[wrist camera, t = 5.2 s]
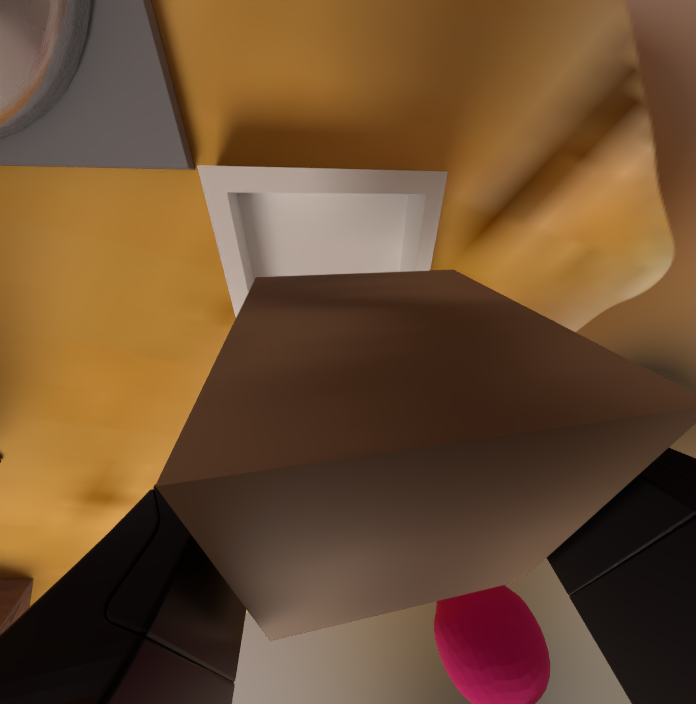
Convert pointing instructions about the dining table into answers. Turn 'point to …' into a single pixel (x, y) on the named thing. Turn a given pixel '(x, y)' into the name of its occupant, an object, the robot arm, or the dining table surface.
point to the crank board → (111, 101)
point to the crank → (37, 56)
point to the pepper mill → (492, 647)
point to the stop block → (402, 444)
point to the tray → (320, 221)
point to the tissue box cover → (13, 600)
